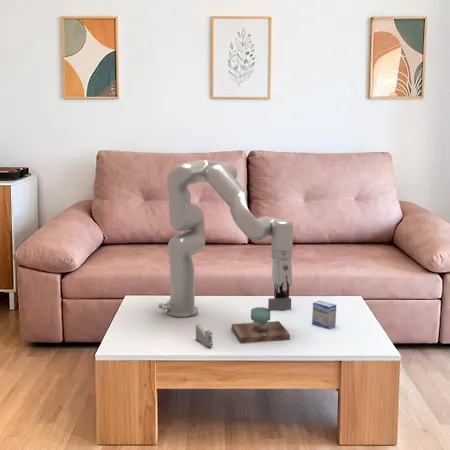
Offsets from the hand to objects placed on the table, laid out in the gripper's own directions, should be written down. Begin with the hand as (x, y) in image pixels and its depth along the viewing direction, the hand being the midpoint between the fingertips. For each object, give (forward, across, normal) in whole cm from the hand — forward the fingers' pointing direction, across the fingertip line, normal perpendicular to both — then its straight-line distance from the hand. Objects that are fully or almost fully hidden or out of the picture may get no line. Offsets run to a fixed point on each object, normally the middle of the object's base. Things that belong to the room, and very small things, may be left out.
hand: (280, 302), depth 251 cm
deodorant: (+11, +24, -8) cm, 28 cm away
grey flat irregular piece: (+11, -7, +30) cm, 32 cm away
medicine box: (+11, +2, -18) cm, 21 cm away
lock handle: (+5, -3, +4) cm, 7 cm away
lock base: (+11, -2, +8) cm, 14 cm away
